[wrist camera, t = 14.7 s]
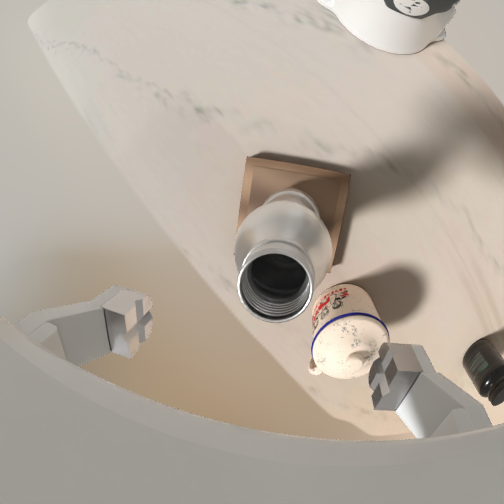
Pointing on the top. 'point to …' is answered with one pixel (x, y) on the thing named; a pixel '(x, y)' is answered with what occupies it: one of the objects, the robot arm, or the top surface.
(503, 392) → the supplement bottle
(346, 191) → the display stand
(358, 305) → the teacup with lid
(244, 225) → the plastic bottle
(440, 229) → the top surface
